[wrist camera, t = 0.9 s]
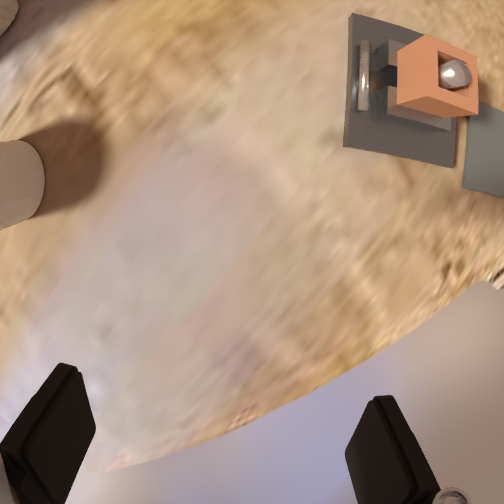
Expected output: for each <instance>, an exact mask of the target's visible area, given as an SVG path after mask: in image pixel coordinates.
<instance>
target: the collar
mask: <svg viewBox="0 0 504 504" xmlns="http://www.w3.org/2000/svg"><path fill="white" fill-rule="evenodd" d="M455 59H457V60H460V61H462V62H463V63H464V64H465V65H466V66H467V68H468V70H469V72H470V82H469V83H468V84H467V85H465V86H461V87H456V88H452V89H448V90H446V89H443V88H440V87H438V66H439V65H441V64H444V63H447V62H449V61H452V60H455ZM397 105H401V106H405V107H408V108H412V109H416V110H419V111H423V112H426V113H429V114H433V115H436V116H439V117H442V118H449V117H458V116H468V115H478V73H477V57H476V56H474V55H472V54H470V53H468V52H466V51H464V50H462V49H459V48H457V47H455V46H453V45H450V44H448V43H446V42H443V41H441V40H438V39H436V38H433V37H431V36H428V35H426V34H425V35H424V36H422V37H420V38H419V39H417V40H415V41H414V42H412V43H410V44H409V45H407V46H405V47H404V48H402V49H400V50H399V51H397Z"/></svg>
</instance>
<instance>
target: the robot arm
mask: <svg viewBox="0 0 504 504" xmlns="http://www.w3.org/2000/svg"><path fill="white" fill-rule="evenodd" d="M95 431H96V425H95V421H94V418H93V415H92V411H91V408H90V404H89V400H88V397H87V393H86V389H85V385H84V381H83V377H82V374H81V372H78V369H77V367H75V366H72V365H68V364H65V363H59V364H58V365H57V366H56V367H55V369H54V370H53V371H52V373H51V374H50V375H49V377H48V378H47V379H46V381H45V382H44V383H43V385H42V386H41V387H40V389H39V390H38V391H37V393H36V394H35V395H34V396H33V397H32V398H31V399H30V401H29V402H28V404H27V405H26V406H25V408H24V409H23V411H22V412H21V413H20V415H19V416H18V418H17V419H16V421H15V422H14V424H13V425H12V427H11V428H10V430H9V431H8V432H7V434H6V435H5V437H4V439H3V440H2V442H1V443H0V504H65V502H66V499H67V497H68V494H69V492H70V490H71V487H72V484H73V482H74V480H75V478H76V475H77V473H78V470H79V468H80V466H81V464H82V461H83V459H84V457H85V454H86V452H87V450H88V448H89V445H90V443H91V441H92V439H93V437H94V434H95ZM345 458H346V462H347V466H348V470H349V473H350V477H351V480H352V484H353V488H354V491H355V495H356V498H357V502H358V504H472V503H471V499H470V497H469V496H468V494H467V493H466V492H465V491H463V490H461V489H459V488H455V487H448V488H445V489H442V490H441V489H440V487H439V485H438V483H437V481H436V478H435V476H434V474H433V472H432V470H431V468H430V466H429V464H428V462H427V460H426V458H425V456H424V454H423V452H422V450H421V448H420V446H419V444H418V442H417V440H416V438H415V436H414V434H413V433H412V431H411V429H410V427H409V425H408V424H407V422H406V420H405V418H404V416H403V414H402V412H401V410H400V408H399V407H398V404H397V402H396V401H395V399H394V397H393V396H391V395H385V396H375V397H374V398H373V400H371V401H369V402H368V404H367V406H366V408H365V411H364V413H363V415H362V417H361V419H360V421H359V423H358V425H357V428H356V430H355V432H354V434H353V436H352V438H351V440H350V442H349V444H348V446H347V448H346V450H345Z"/></svg>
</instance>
